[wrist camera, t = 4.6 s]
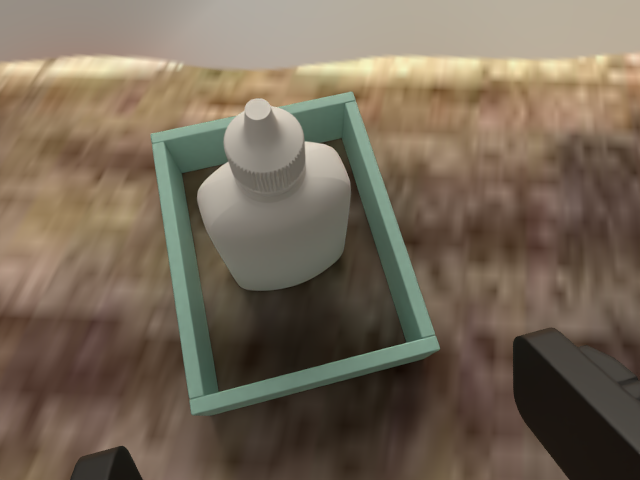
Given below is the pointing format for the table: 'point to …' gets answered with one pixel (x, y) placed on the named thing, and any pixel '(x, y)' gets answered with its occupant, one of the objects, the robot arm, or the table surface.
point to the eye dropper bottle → (275, 201)
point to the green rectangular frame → (170, 162)
